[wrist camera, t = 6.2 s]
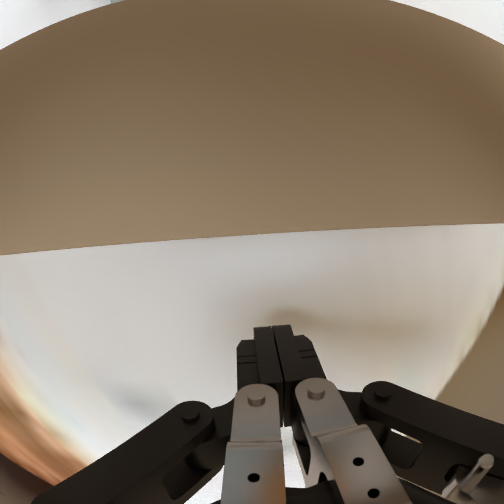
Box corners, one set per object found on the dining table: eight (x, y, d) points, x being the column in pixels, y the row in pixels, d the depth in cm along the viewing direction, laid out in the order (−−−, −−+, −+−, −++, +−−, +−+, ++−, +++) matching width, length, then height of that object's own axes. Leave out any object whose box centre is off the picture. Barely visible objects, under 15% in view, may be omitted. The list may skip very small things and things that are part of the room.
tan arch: (414, 178, 13) (589, 221, 4) (93, 195, 12) (-81, 264, 3) (412, 117, 12) (587, 104, 3) (88, 130, 11) (-93, 119, 2)
